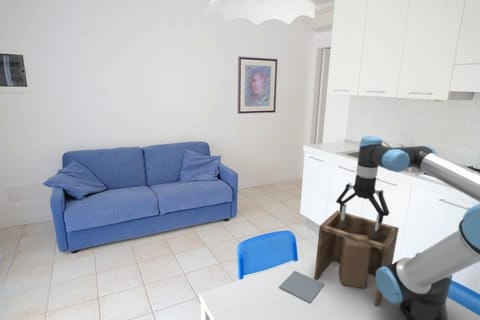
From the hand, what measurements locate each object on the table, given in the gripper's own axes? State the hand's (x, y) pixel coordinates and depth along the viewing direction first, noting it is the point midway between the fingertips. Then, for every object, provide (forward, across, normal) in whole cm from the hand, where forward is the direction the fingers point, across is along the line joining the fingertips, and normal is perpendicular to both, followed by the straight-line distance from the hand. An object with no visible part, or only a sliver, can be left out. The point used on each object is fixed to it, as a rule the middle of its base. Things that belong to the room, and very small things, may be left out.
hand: (359, 224), depth 120 cm
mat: (+26, +15, +18) cm, 35 cm away
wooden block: (+27, 0, 0) cm, 27 cm away
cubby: (+26, 0, 0) cm, 26 cm away
